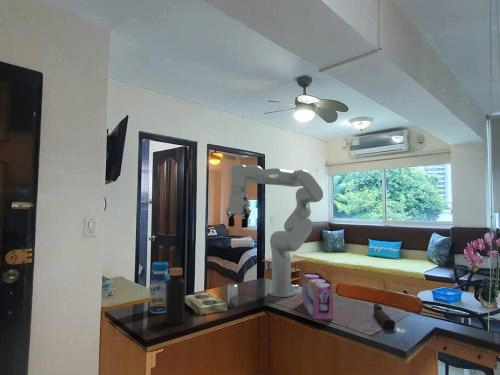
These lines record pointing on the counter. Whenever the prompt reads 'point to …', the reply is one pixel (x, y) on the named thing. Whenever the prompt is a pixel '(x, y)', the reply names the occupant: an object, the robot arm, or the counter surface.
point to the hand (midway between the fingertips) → (237, 227)
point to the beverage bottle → (158, 287)
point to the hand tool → (383, 318)
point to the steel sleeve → (232, 295)
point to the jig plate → (205, 303)
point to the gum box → (317, 295)
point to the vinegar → (175, 297)
